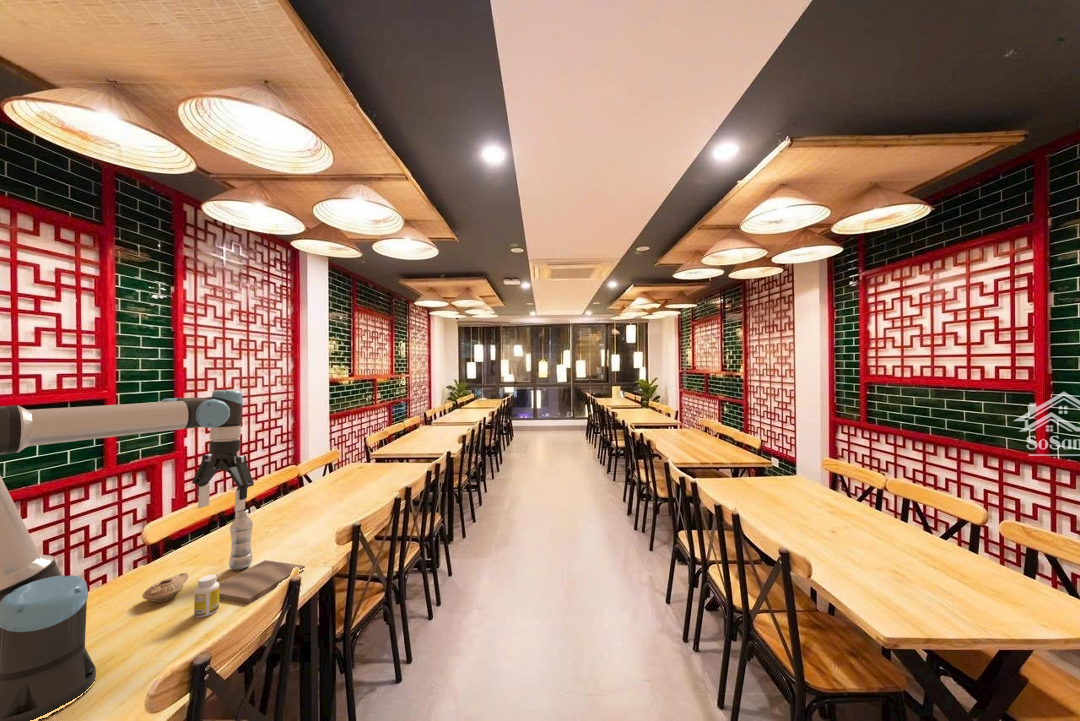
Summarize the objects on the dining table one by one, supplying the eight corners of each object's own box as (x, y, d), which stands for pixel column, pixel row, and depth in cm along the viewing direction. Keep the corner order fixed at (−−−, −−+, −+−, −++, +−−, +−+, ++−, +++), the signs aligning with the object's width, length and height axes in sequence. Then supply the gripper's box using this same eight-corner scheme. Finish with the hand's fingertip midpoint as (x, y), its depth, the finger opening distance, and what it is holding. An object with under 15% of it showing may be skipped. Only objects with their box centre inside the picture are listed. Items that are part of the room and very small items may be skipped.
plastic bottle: (239, 573, 131) (241, 514, 132) (223, 571, 132) (225, 513, 133) (257, 564, 137) (258, 508, 138) (241, 562, 139) (242, 506, 139)
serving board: (249, 603, 114) (249, 598, 114) (204, 596, 118) (205, 591, 118) (304, 570, 134) (304, 565, 134) (265, 564, 137) (265, 560, 137)
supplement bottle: (218, 604, 114) (219, 570, 114) (219, 612, 110) (220, 578, 110) (194, 611, 110) (195, 577, 111) (193, 621, 106) (194, 585, 107)
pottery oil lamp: (200, 581, 126) (202, 565, 123) (164, 615, 114) (165, 599, 112) (173, 572, 125) (175, 557, 123) (134, 606, 114) (135, 590, 111)
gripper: (269, 439, 122) (266, 507, 121) (205, 436, 126) (201, 501, 125) (247, 443, 115) (243, 515, 113) (179, 439, 119) (175, 509, 118)
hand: (221, 508), depth 119 cm, fingers open, 13 cm apart
